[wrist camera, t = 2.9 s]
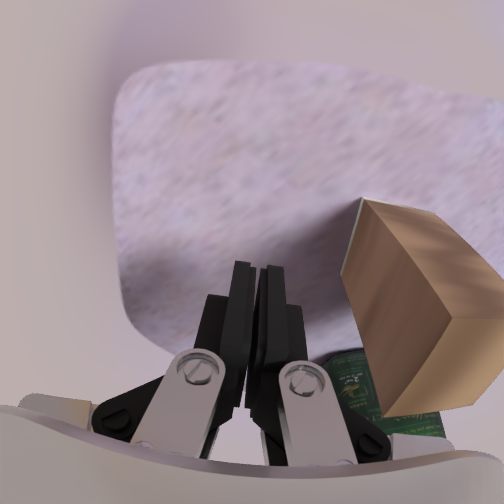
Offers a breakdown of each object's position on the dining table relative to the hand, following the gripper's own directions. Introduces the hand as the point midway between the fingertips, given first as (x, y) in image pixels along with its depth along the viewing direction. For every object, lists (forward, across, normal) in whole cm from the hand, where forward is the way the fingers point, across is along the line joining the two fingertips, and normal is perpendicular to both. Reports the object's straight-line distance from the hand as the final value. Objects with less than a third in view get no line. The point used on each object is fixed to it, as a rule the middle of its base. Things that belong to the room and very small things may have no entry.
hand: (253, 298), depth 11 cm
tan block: (+7, -8, 0) cm, 10 cm away
